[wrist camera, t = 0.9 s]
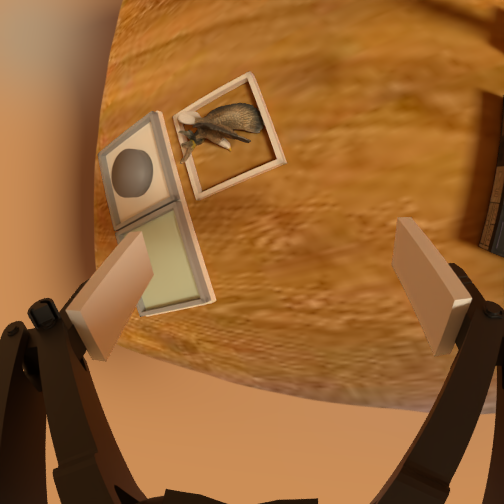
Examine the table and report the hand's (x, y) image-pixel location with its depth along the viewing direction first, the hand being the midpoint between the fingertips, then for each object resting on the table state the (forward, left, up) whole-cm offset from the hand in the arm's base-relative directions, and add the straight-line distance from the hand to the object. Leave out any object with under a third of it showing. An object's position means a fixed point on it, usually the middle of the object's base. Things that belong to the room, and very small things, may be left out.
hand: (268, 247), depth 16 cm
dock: (-9, -25, -19) cm, 32 cm away
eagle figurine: (-14, -9, -19) cm, 25 cm away
